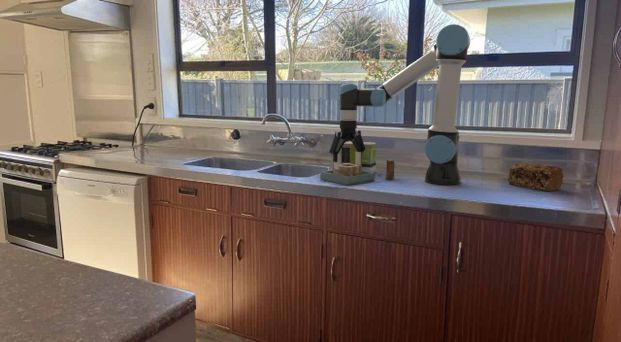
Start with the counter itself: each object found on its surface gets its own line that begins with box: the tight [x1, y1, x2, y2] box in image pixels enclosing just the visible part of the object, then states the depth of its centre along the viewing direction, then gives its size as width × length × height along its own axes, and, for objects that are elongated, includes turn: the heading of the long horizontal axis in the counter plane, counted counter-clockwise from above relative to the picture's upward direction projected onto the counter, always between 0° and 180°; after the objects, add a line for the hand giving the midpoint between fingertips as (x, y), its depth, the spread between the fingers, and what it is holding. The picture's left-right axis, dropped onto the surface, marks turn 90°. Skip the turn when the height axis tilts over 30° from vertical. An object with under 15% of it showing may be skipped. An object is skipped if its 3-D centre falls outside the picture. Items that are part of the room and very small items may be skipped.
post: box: [385, 159, 395, 181], centre depth 205 cm, size 2×3×9 cm
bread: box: [507, 162, 564, 192], centre depth 189 cm, size 19×11×10 cm, turn 29°
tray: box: [320, 169, 376, 187], centre depth 202 cm, size 18×17×4 cm
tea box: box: [340, 141, 377, 173], centre depth 221 cm, size 15×10×15 cm
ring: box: [332, 163, 362, 177], centre depth 201 cm, size 9×12×6 cm
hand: (347, 167), depth 202 cm, fingers open, 13 cm apart
